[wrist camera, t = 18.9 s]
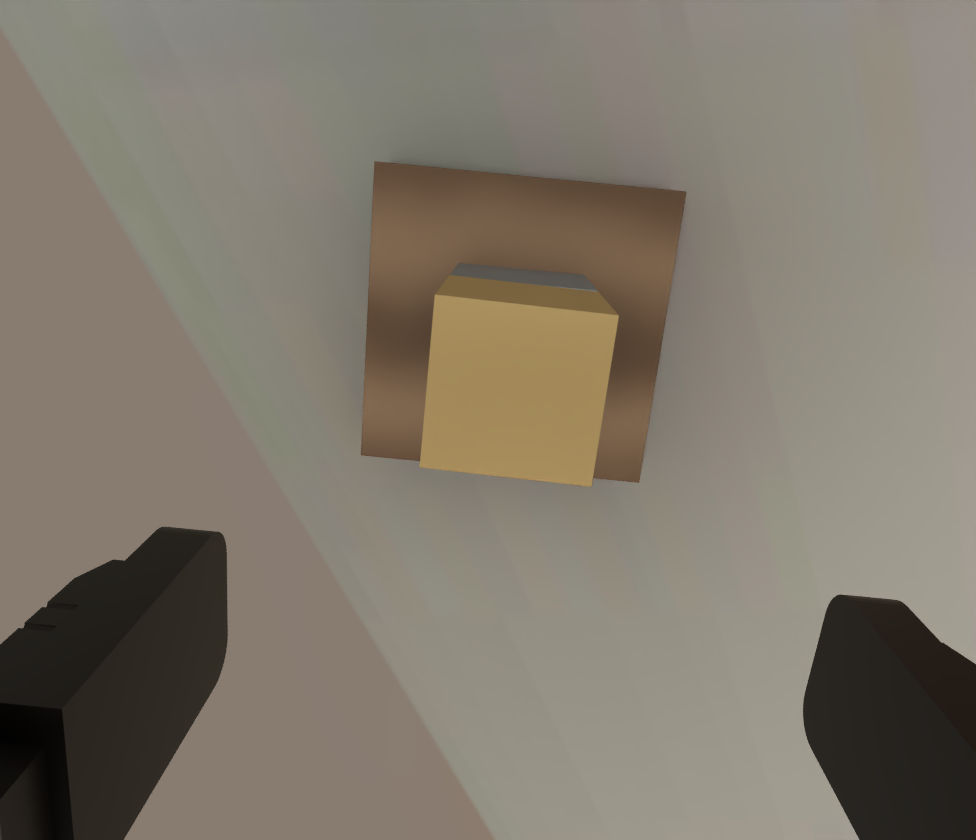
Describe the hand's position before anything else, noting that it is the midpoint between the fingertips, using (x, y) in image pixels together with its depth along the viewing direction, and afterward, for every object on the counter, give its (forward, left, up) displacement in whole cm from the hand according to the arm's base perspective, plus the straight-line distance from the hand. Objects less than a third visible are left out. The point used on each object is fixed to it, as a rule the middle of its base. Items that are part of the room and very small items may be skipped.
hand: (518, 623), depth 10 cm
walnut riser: (0, 0, -25) cm, 25 cm away
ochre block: (0, 0, -17) cm, 17 cm away
